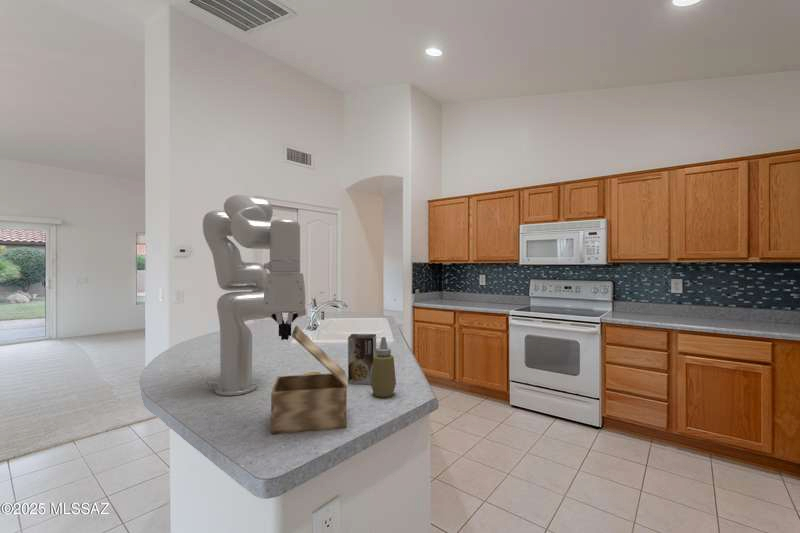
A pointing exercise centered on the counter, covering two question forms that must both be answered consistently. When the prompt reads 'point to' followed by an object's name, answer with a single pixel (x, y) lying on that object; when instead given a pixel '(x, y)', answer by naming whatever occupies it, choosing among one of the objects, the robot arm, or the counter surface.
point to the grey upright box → (361, 358)
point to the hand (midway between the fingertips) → (285, 338)
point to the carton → (308, 403)
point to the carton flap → (319, 355)
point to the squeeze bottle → (383, 371)
